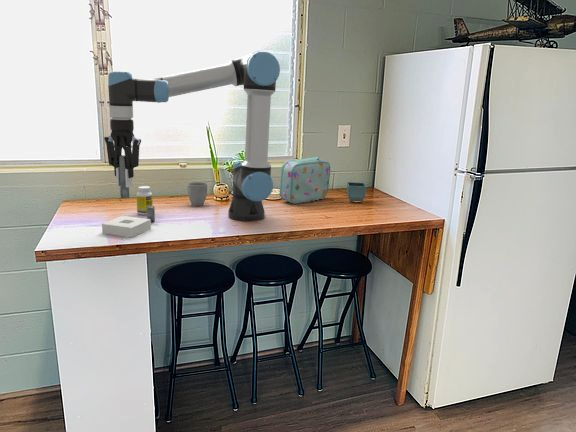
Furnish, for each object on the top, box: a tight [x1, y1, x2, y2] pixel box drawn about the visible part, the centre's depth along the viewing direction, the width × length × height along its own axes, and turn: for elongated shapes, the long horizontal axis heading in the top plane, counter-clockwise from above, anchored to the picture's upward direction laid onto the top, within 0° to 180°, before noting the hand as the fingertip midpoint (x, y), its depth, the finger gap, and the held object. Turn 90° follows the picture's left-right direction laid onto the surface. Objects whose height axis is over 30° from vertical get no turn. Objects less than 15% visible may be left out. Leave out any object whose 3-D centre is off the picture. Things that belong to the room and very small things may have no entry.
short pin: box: [146, 205, 156, 224], centre depth 183 cm, size 3×3×6 cm
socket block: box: [101, 215, 152, 238], centre depth 170 cm, size 12×12×4 cm
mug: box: [186, 181, 208, 207], centre depth 213 cm, size 12×9×10 cm
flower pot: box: [346, 181, 368, 202], centre depth 230 cm, size 9×9×9 cm
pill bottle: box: [136, 185, 154, 216], centre depth 194 cm, size 6×6×11 cm
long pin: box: [119, 154, 130, 200], centre depth 165 cm, size 3×3×15 cm
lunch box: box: [279, 156, 331, 205], centre depth 227 cm, size 27×10×21 cm, turn 133°
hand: (124, 186), depth 166 cm, fingers closed on long pin, 3 cm apart
